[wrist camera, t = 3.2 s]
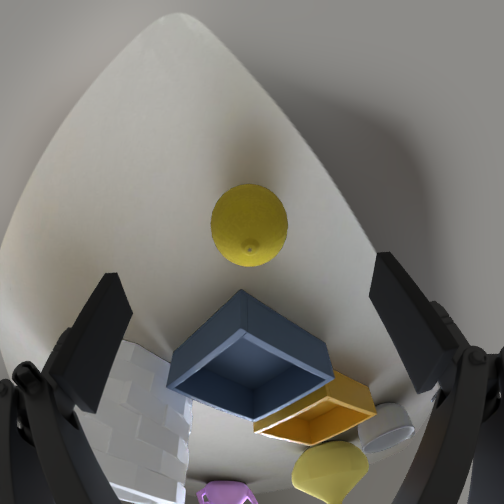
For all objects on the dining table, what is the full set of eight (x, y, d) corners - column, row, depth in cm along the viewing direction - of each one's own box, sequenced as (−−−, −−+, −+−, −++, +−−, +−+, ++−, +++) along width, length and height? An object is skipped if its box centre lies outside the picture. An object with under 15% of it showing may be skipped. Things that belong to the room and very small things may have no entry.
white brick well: (190, 426, 44) (182, 513, 28) (75, 395, 41) (50, 472, 25) (205, 350, 33) (190, 498, 16) (41, 305, 29) (-23, 411, 13)
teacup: (343, 420, 45) (351, 454, 38) (385, 392, 41) (397, 428, 34) (381, 424, 49) (390, 452, 42) (418, 399, 45) (430, 428, 38)
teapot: (199, 485, 76) (198, 511, 66) (193, 477, 68) (191, 506, 58) (257, 487, 77) (258, 513, 66) (258, 479, 69) (260, 509, 59)
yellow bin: (368, 387, 39) (377, 414, 34) (307, 420, 44) (311, 446, 39) (319, 361, 35) (327, 395, 30) (252, 402, 39) (253, 432, 35)
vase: (294, 462, 59) (300, 521, 42) (283, 444, 50) (289, 519, 33) (359, 448, 57) (372, 505, 40) (364, 425, 48) (382, 499, 31)
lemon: (241, 160, 22) (239, 187, 15) (293, 198, 24) (314, 241, 17) (203, 211, 24) (187, 259, 17) (254, 244, 26) (258, 300, 19)
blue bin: (325, 343, 33) (335, 378, 28) (253, 390, 38) (254, 422, 33) (240, 288, 28) (240, 327, 23) (173, 352, 33) (165, 387, 28)
